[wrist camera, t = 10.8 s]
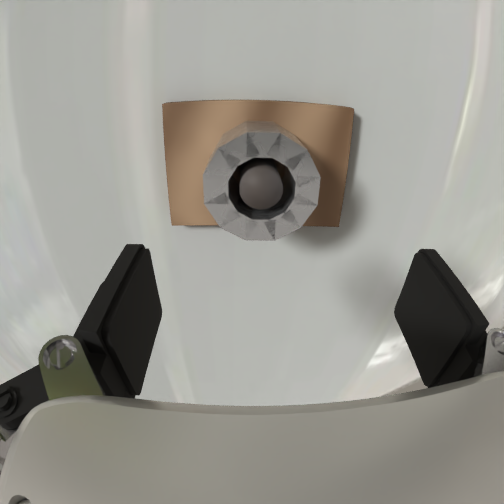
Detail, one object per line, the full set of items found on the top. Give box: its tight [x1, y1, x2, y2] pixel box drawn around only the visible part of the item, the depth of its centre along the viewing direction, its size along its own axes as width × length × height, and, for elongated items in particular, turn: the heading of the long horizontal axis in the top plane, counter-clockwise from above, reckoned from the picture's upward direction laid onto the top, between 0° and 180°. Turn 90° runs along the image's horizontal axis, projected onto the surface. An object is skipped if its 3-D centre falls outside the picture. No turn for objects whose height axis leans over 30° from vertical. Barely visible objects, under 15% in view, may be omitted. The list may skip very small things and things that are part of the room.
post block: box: [162, 100, 354, 227], centre depth 21 cm, size 14×10×6 cm
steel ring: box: [203, 121, 321, 240], centre depth 20 cm, size 7×7×5 cm
